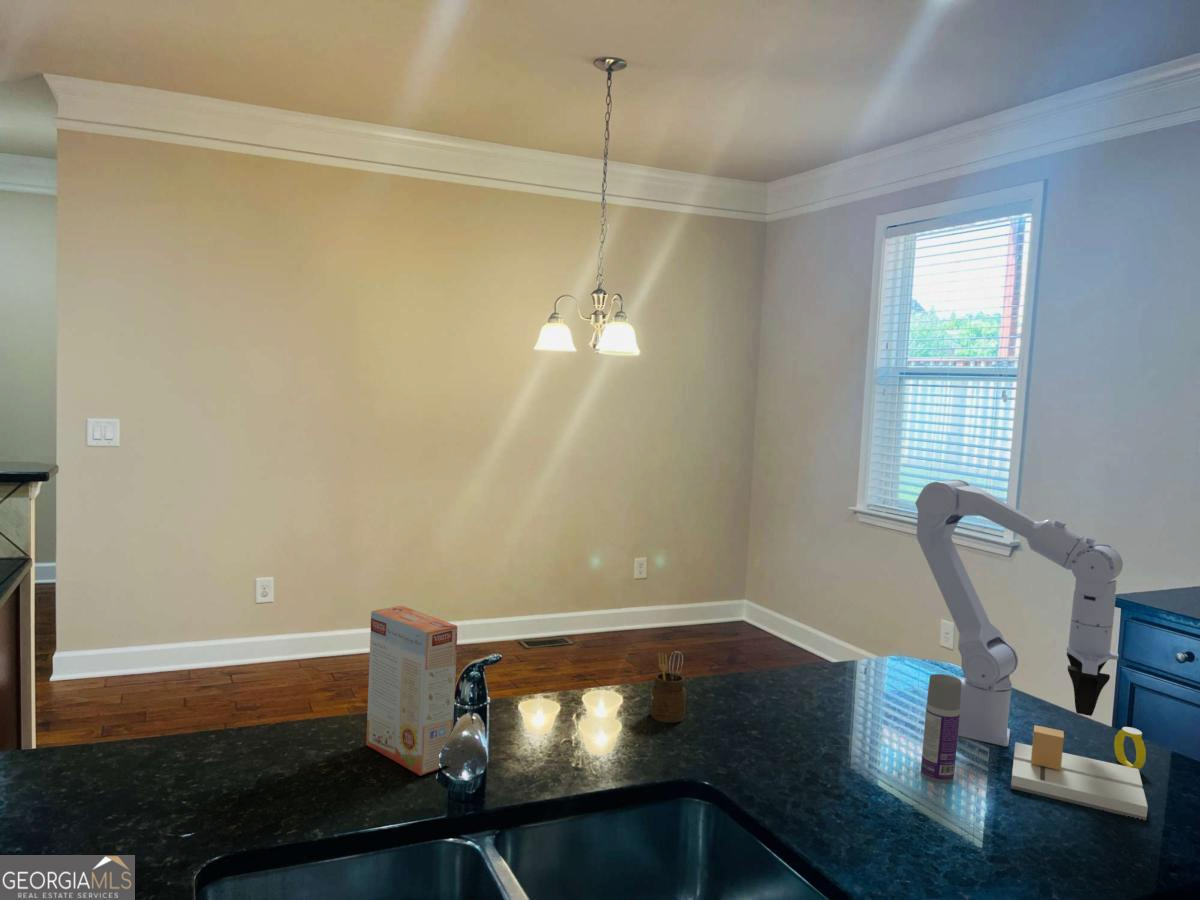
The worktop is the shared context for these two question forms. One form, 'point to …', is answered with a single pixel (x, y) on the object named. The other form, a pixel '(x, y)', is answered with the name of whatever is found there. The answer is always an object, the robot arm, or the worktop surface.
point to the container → (941, 728)
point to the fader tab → (1047, 747)
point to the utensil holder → (668, 694)
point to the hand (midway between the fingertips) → (1083, 706)
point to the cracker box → (410, 686)
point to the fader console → (1082, 782)
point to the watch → (1139, 746)
